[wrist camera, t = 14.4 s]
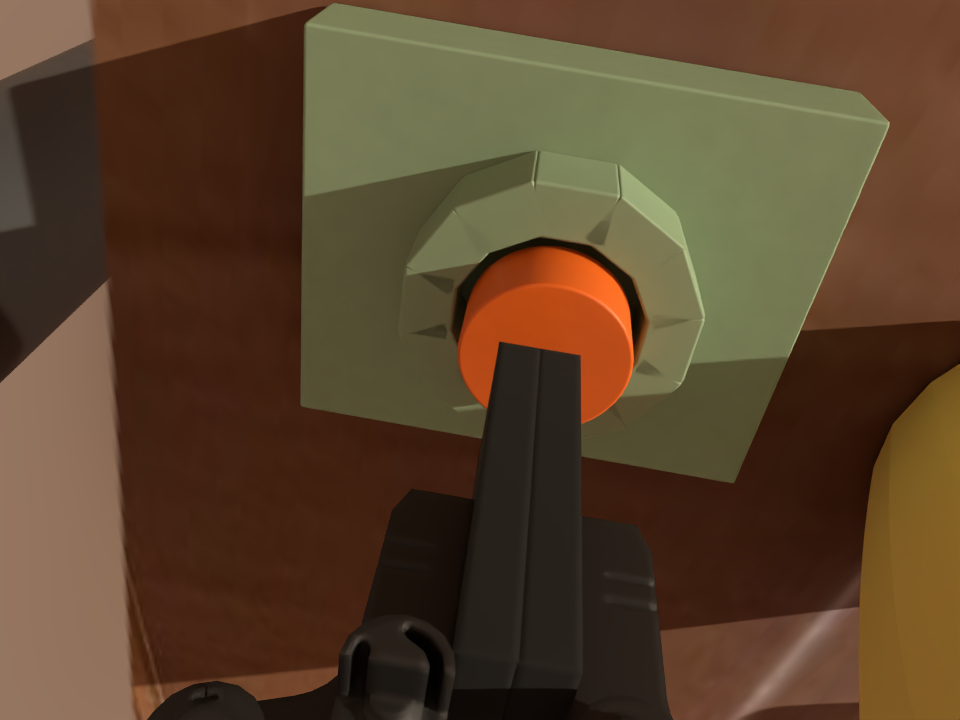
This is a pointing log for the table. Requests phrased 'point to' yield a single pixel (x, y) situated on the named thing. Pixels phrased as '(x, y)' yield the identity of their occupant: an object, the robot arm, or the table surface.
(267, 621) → the table surface
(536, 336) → the button
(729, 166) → the control block
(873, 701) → the vase
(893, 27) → the table surface
